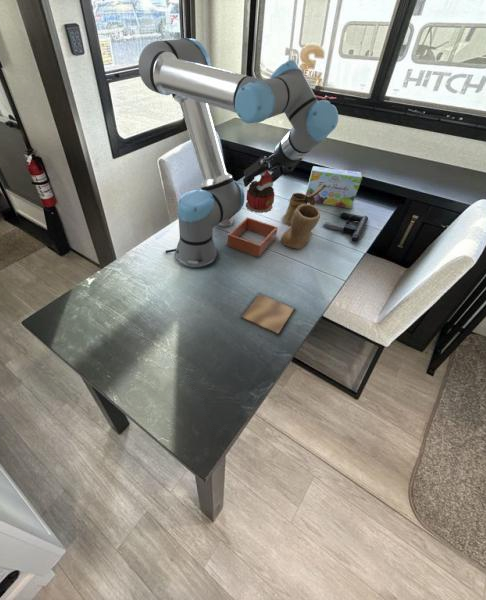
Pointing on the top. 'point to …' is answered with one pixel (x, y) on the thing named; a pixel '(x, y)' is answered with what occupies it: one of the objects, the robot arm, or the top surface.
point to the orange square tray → (248, 245)
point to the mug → (227, 222)
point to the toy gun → (349, 229)
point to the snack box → (334, 186)
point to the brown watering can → (300, 203)
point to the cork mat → (268, 313)
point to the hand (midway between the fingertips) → (258, 180)
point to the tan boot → (301, 226)
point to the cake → (261, 194)
